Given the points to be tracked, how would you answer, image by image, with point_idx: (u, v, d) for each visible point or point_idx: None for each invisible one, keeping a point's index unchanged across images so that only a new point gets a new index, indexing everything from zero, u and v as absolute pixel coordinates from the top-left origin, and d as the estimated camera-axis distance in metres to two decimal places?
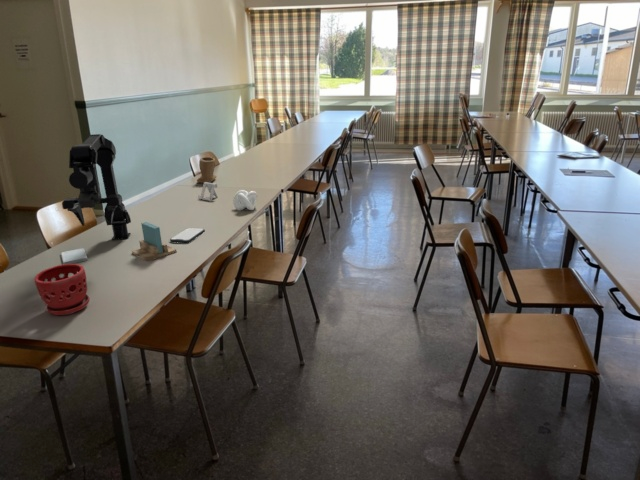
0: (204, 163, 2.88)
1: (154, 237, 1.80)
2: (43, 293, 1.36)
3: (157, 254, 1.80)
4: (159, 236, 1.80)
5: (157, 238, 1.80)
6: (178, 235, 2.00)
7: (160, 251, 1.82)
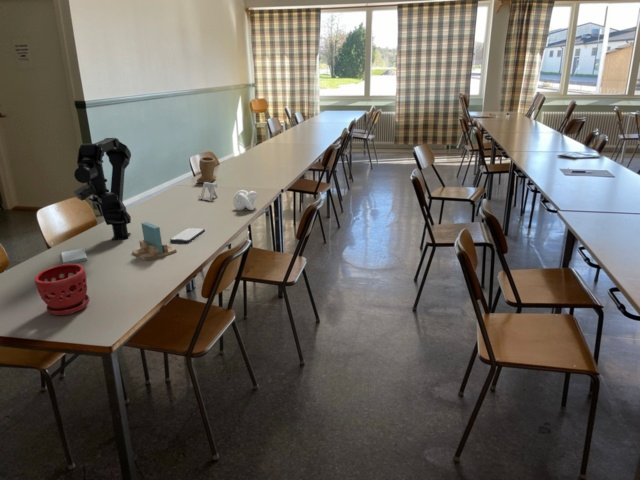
0: (204, 163, 2.88)
1: (154, 237, 1.80)
2: (43, 293, 1.36)
3: (157, 254, 1.80)
4: (159, 236, 1.80)
5: (157, 238, 1.80)
6: (178, 235, 2.00)
7: (160, 251, 1.82)
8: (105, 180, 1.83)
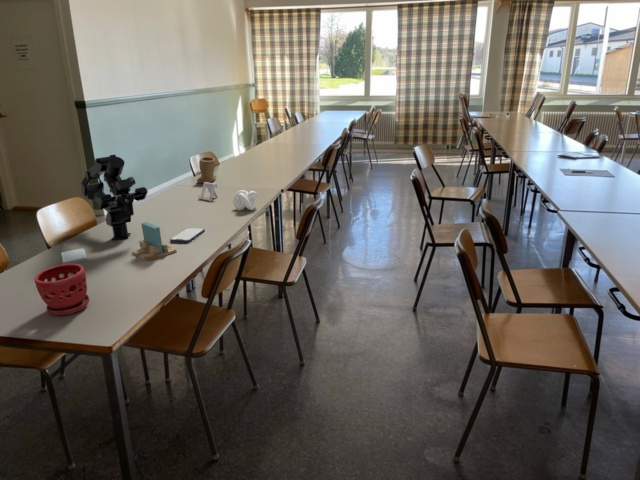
0: (204, 163, 2.88)
1: (154, 237, 1.80)
2: (43, 293, 1.36)
3: (157, 254, 1.80)
4: (159, 236, 1.80)
5: (157, 238, 1.80)
6: (178, 235, 2.00)
7: (160, 251, 1.82)
8: None
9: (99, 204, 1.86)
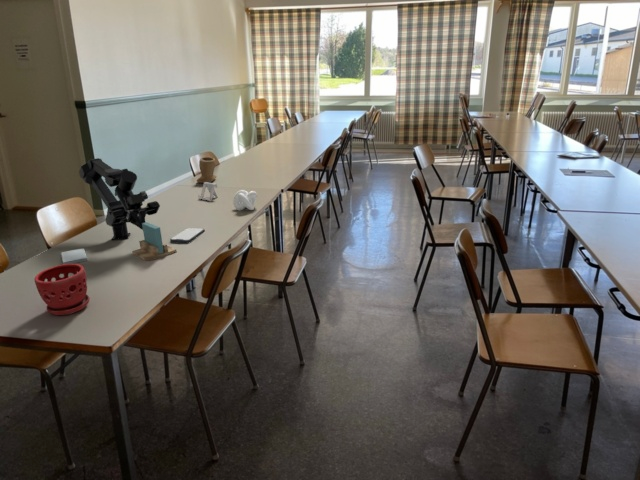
0: (204, 163, 2.88)
1: (155, 237, 1.80)
2: (43, 293, 1.36)
3: (157, 254, 1.80)
4: (160, 236, 1.80)
5: (158, 238, 1.79)
6: (178, 235, 2.00)
7: (161, 251, 1.82)
8: None
9: (111, 219, 1.82)
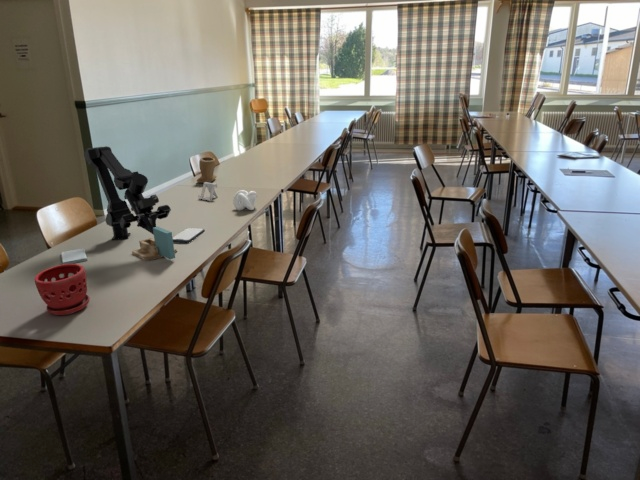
0: (204, 163, 2.88)
1: (166, 242, 1.74)
2: (43, 293, 1.36)
3: (157, 254, 1.80)
4: (171, 241, 1.74)
5: (169, 243, 1.74)
6: (178, 235, 2.00)
7: (172, 257, 1.76)
8: None
9: (121, 224, 1.77)
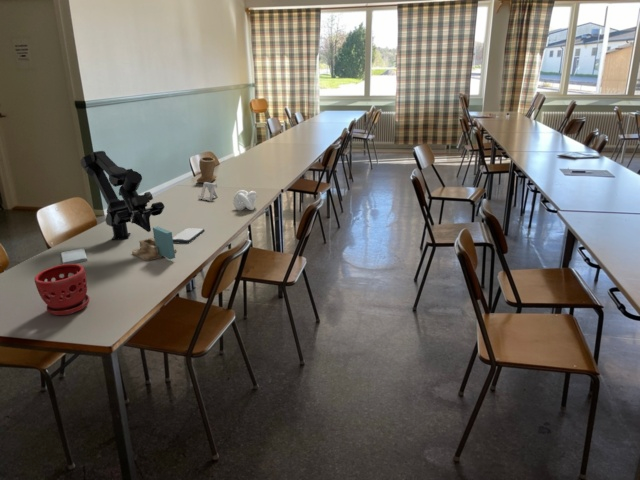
0: (204, 163, 2.88)
1: (166, 242, 1.74)
2: (43, 293, 1.36)
3: (157, 254, 1.80)
4: (171, 241, 1.74)
5: (169, 243, 1.74)
6: (178, 235, 2.00)
7: (172, 257, 1.76)
8: None
9: (115, 220, 1.80)
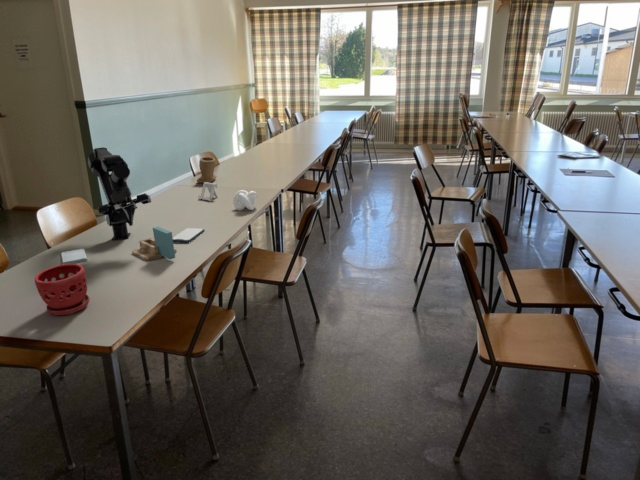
0: (204, 163, 2.88)
1: (166, 242, 1.74)
2: (43, 293, 1.36)
3: (157, 254, 1.80)
4: (171, 241, 1.74)
5: (169, 243, 1.74)
6: (178, 235, 2.00)
7: (172, 257, 1.76)
8: None
9: None
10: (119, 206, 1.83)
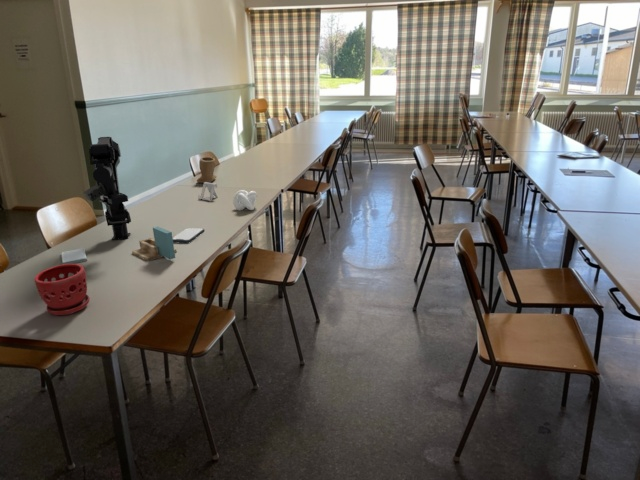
0: (204, 163, 2.88)
1: (166, 242, 1.74)
2: (43, 293, 1.36)
3: (157, 254, 1.80)
4: (171, 241, 1.74)
5: (169, 243, 1.74)
6: (178, 235, 2.00)
7: (172, 257, 1.76)
8: (115, 180, 1.82)
9: None
10: (102, 197, 1.84)
